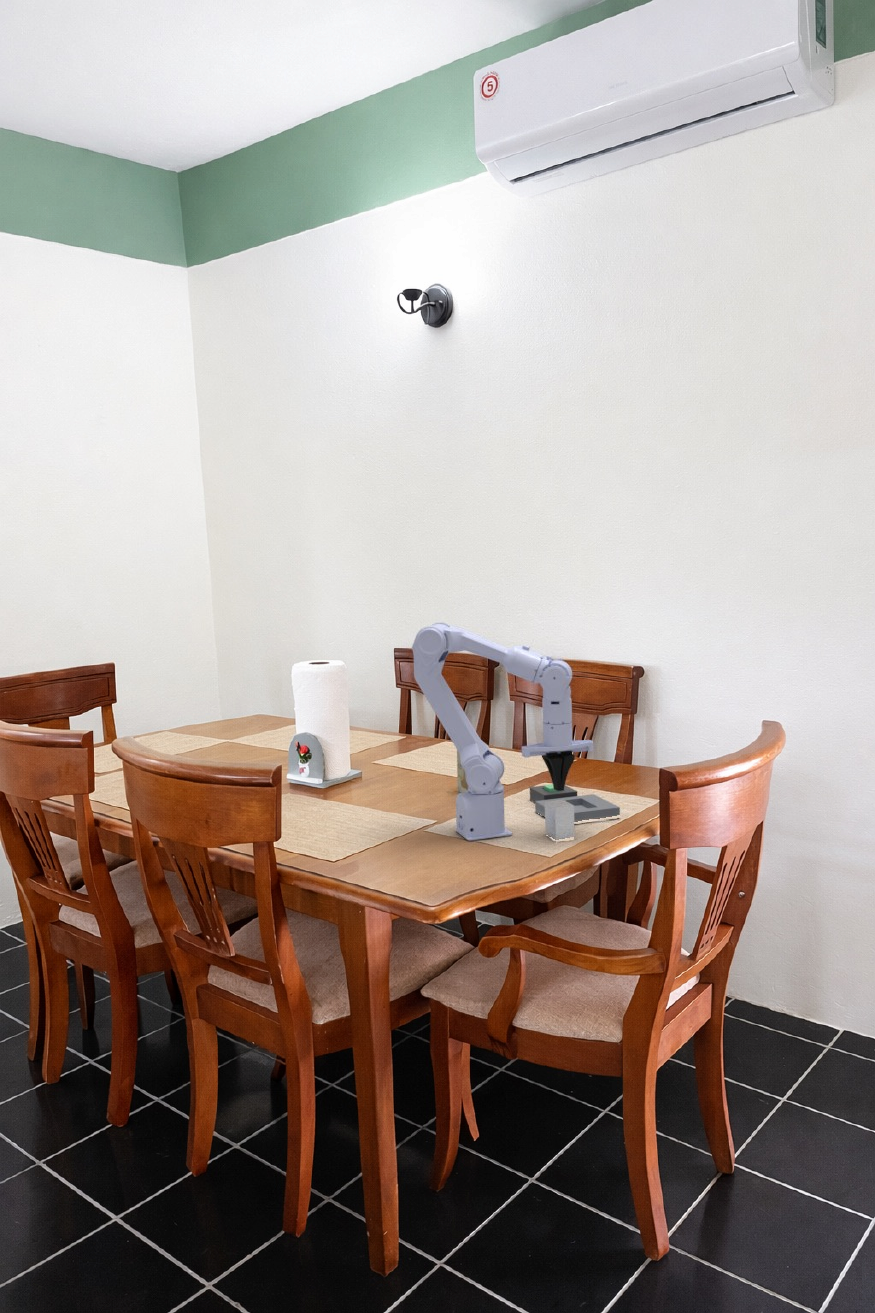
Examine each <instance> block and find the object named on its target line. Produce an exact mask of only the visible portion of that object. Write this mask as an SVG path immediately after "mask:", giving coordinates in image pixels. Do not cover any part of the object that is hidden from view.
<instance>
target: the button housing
mask: <svg viewBox="0 0 875 1313" xmlns="http://www.w3.org/2000/svg"><path fill="white" fill-rule="evenodd" d="M574 796H578V790H575V789H573V788H571V787H569V786H568V785H566V784H565V786H564V790H563V791H555V792H547V791H546V790H544V785H537V786H529V801H531V802H532V801H533V803H534V802H535V801H541V800H549V799H558V798H566V797H574Z"/></svg>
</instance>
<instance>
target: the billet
mask: <svg viewBox="0 0 875 1313" xmlns="http://www.w3.org/2000/svg"><path fill="white" fill-rule="evenodd" d="M544 829H545V830H544V831H545V832H544V834H546V835H548V836H549V837H552V838H553V839H555V840H559V839H565V838H570V837H575V838H576V836H575V835H576V834H575V825H574V805H572V804H570V803H568V802H567V801H565V800H555V801H547V802H545V818H544Z"/></svg>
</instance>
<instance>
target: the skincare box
mask: <svg viewBox="0 0 875 1313" xmlns="http://www.w3.org/2000/svg"><path fill="white" fill-rule="evenodd" d="M456 763H457V764H456V766H457V767H456V770H457V772H456V774H457V777H456V778H457V792H459V793H464V792H466V791H468V787H469V786H468V784H467V782H466V775H465V771H464V769H463V767H462V765H461V761H460V754H459V752H458V750H457V749H456Z"/></svg>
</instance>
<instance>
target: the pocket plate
mask: <svg viewBox="0 0 875 1313" xmlns="http://www.w3.org/2000/svg"><path fill="white" fill-rule="evenodd" d="M555 800H565V801H567V802H568V803H570V804H572V805H574V822H578V821H582V820H589V819H600V818H606V817H612V816H617V815H620V816H621V808H620V806H619V805H616V804H614V803H612V802H610V801H608V800H606V799H604V798H603V797H600V796H599V795H596V794H595V793H594V794H593V793H592V794H585V795H577V796H574V797H566V798H558V799H549V800H541V801H535V803H534V806H535V807H534V811H535V812H534V813H536V814H537V813H539V814H541V815H542V816H544V817H545V802H547V801H555ZM539 814H538V815H539ZM542 816H541V817H542ZM544 817H543V818H544Z"/></svg>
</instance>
